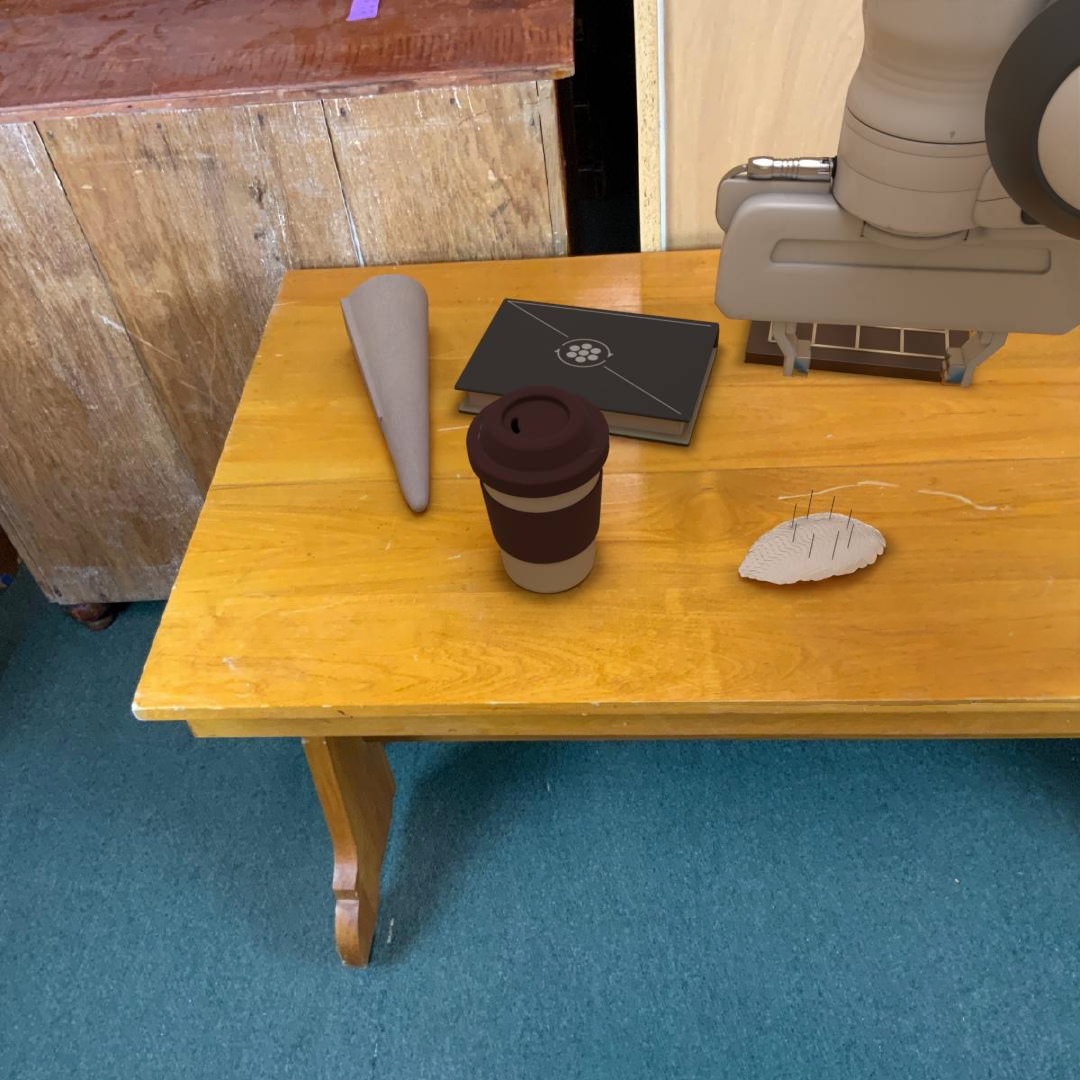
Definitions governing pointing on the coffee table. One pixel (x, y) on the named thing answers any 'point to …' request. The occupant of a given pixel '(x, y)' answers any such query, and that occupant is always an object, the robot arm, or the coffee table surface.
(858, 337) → the board
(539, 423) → the coffee cup
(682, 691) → the coffee table surface
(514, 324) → the book
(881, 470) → the coffee table surface
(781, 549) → the pincushion
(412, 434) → the grey tapered cone
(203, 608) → the coffee table surface
